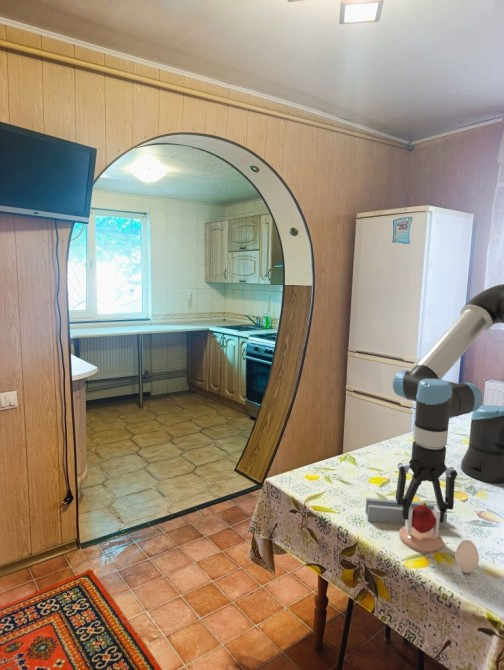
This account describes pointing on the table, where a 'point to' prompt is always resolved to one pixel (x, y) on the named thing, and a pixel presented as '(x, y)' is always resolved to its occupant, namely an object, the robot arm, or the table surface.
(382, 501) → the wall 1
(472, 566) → the egg
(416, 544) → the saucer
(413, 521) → the onion
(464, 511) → the table surface
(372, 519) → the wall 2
